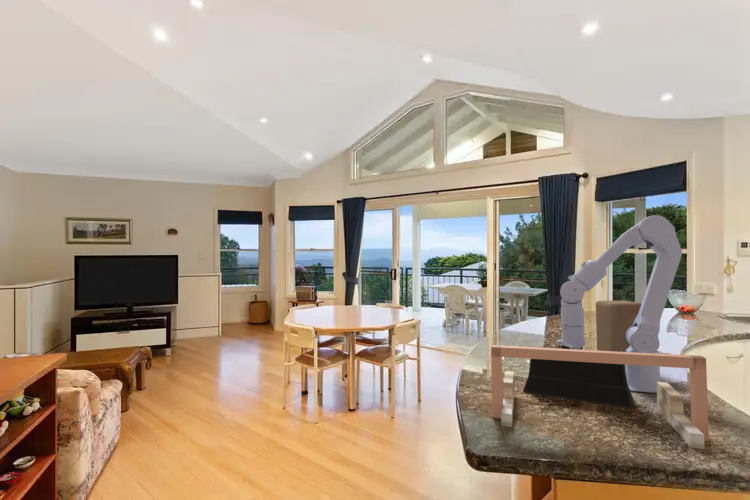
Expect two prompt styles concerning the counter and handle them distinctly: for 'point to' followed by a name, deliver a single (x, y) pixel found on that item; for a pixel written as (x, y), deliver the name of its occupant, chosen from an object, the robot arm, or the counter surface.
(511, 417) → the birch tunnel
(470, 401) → the counter surface
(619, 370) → the barrier
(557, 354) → the arch
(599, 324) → the wooden block
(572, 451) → the counter surface
